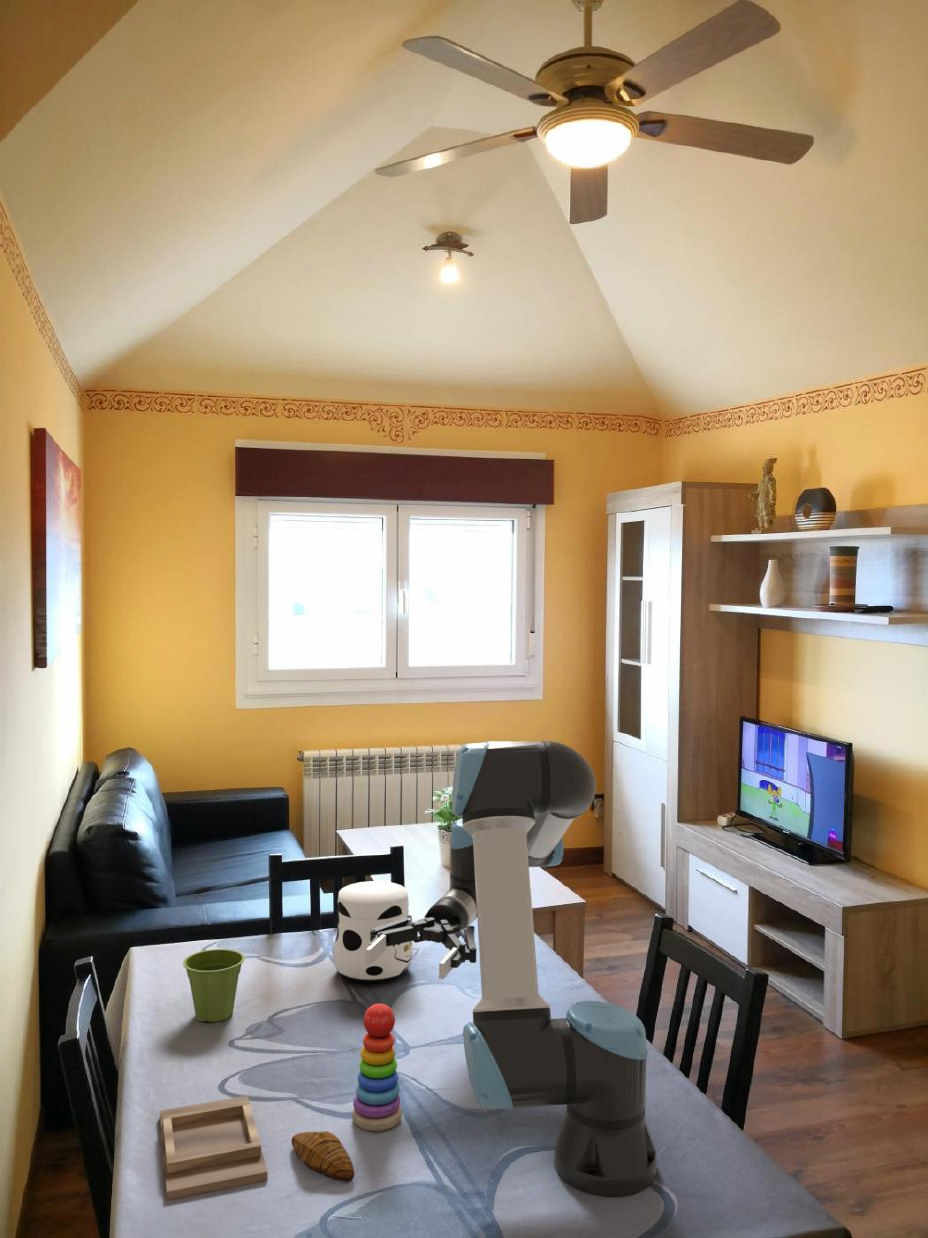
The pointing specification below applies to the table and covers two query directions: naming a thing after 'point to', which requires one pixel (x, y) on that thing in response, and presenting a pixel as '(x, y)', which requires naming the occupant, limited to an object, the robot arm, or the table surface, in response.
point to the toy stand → (210, 1147)
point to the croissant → (323, 1154)
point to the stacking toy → (377, 1073)
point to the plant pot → (214, 982)
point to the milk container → (357, 917)
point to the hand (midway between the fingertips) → (403, 964)
